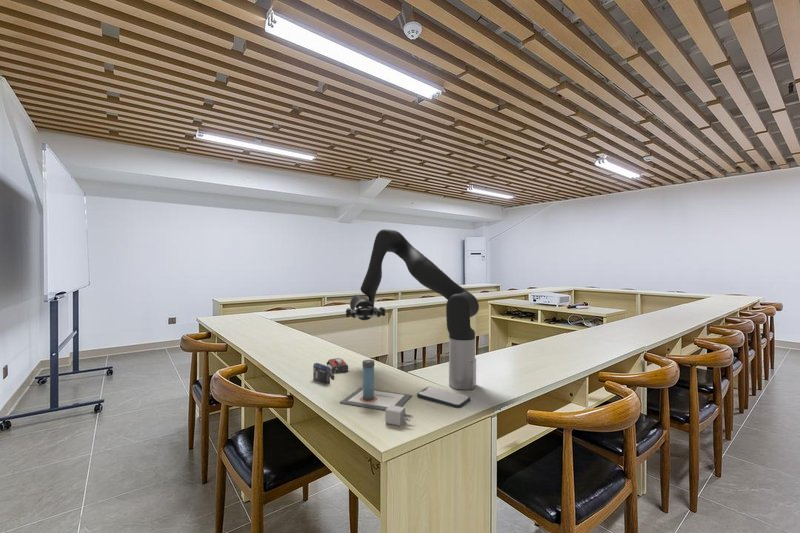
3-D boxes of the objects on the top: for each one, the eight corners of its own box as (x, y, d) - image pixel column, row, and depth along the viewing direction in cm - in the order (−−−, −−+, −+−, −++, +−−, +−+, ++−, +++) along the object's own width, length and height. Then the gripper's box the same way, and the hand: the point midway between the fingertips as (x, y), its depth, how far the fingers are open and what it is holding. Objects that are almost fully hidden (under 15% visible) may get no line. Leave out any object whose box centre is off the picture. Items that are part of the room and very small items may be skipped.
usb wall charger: (391, 418, 101) (391, 404, 101) (414, 422, 98) (414, 408, 98) (385, 424, 97) (385, 409, 97) (408, 428, 95) (408, 413, 95)
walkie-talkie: (322, 366, 153) (330, 380, 134) (322, 356, 153) (330, 369, 134) (342, 364, 156) (353, 378, 138) (342, 354, 156) (353, 366, 138)
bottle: (376, 397, 115) (376, 360, 114) (371, 401, 111) (371, 363, 111) (365, 395, 116) (365, 359, 116) (360, 400, 112) (360, 362, 112)
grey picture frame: (411, 396, 118) (411, 394, 118) (396, 412, 105) (396, 410, 105) (360, 388, 125) (360, 386, 125) (340, 403, 112) (340, 401, 112)
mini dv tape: (313, 379, 135) (313, 363, 135) (316, 378, 136) (316, 362, 136) (326, 384, 130) (326, 367, 129) (330, 383, 131) (329, 366, 131)
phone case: (471, 401, 115) (429, 390, 124) (471, 396, 115) (429, 385, 124) (459, 411, 107) (415, 398, 117) (459, 405, 107) (415, 393, 117)
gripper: (345, 300, 139) (345, 304, 123) (381, 299, 141) (386, 303, 125) (346, 319, 139) (346, 326, 123) (382, 318, 141) (386, 324, 125)
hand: (366, 314), depth 124 cm, fingers open, 8 cm apart
